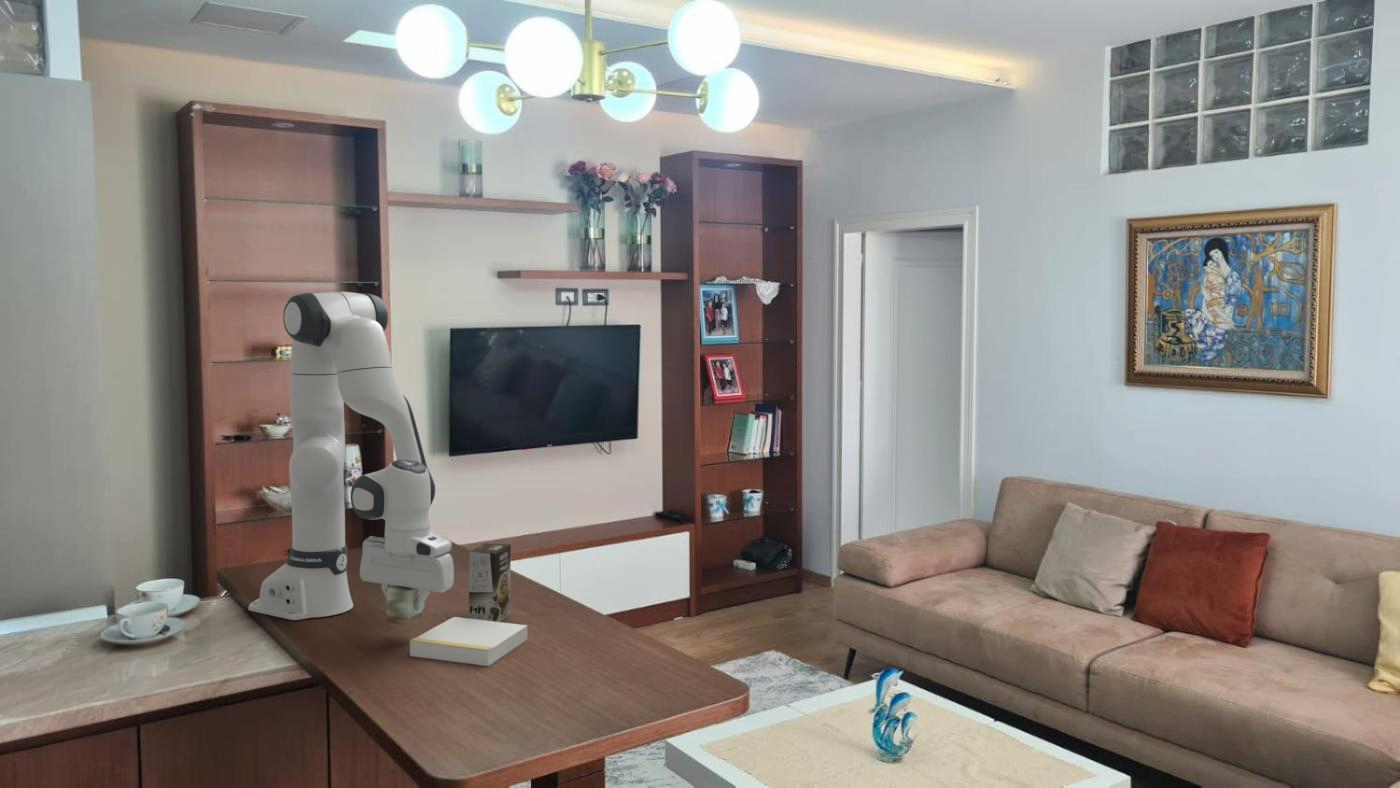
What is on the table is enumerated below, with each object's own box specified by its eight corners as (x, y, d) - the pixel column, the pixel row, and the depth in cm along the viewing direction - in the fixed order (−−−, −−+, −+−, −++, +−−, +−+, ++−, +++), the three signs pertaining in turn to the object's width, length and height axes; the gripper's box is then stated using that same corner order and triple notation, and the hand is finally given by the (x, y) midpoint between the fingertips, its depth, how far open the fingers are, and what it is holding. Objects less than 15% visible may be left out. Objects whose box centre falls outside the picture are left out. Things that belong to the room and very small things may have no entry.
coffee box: (495, 627, 229) (496, 553, 228) (467, 624, 231) (467, 551, 229) (511, 615, 238) (511, 543, 237) (484, 612, 239) (484, 541, 238)
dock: (410, 656, 210) (409, 640, 210) (453, 630, 226) (453, 615, 226) (488, 666, 205) (488, 649, 205) (527, 639, 221) (527, 624, 221)
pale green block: (386, 622, 217) (387, 588, 217) (400, 615, 222) (401, 582, 221) (407, 625, 216) (408, 591, 215) (421, 619, 220) (422, 585, 220)
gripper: (353, 537, 218) (352, 604, 219) (442, 549, 212) (440, 618, 213) (372, 532, 224) (370, 596, 225) (458, 543, 218) (456, 610, 219)
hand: (405, 607), depth 219 cm, fingers closed on pale green block, 5 cm apart
